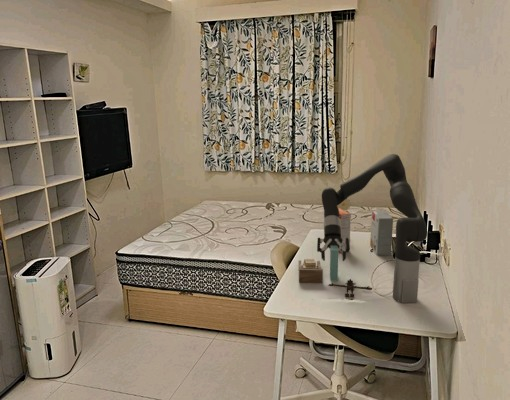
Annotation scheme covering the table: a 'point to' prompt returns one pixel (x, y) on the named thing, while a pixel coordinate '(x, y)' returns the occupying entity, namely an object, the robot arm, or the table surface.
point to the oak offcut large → (308, 267)
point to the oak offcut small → (309, 262)
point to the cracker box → (344, 226)
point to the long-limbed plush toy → (350, 288)
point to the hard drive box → (381, 232)
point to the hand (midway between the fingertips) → (333, 260)
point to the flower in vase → (344, 205)
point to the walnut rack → (310, 274)
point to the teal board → (334, 263)
